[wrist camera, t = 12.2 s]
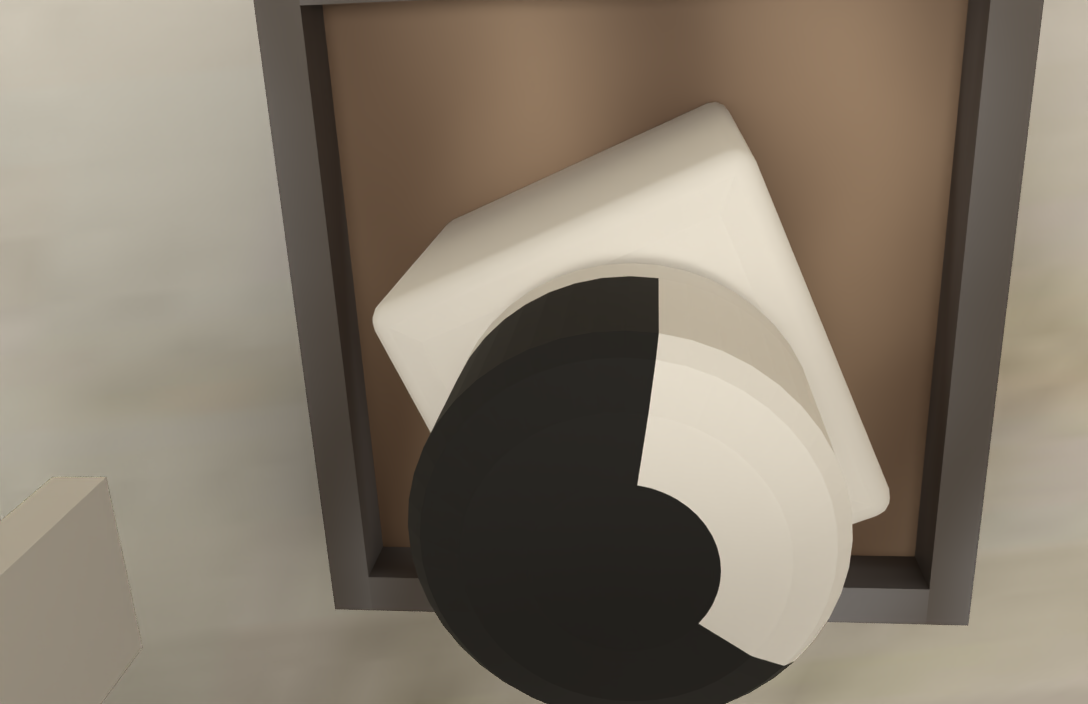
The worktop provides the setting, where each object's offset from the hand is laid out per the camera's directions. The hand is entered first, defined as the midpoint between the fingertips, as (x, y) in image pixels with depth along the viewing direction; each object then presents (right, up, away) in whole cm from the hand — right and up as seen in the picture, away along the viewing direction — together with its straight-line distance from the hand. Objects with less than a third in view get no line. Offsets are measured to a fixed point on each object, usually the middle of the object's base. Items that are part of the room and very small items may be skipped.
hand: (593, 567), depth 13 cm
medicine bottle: (+2, +4, +11) cm, 12 cm away
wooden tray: (+2, +4, +12) cm, 13 cm away
